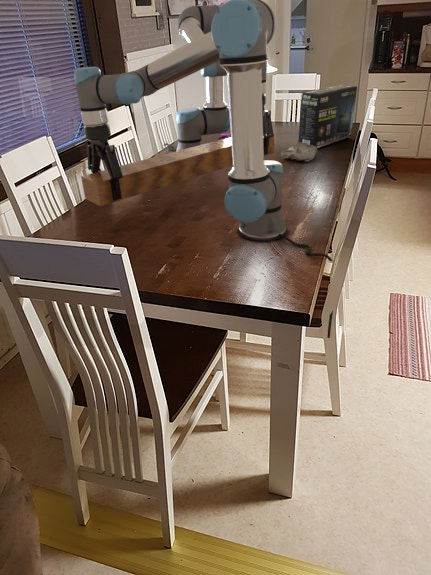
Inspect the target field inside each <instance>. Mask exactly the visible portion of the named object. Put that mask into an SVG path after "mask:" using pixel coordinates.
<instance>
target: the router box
mask: <svg viewBox="0 0 431 575" xmlns="http://www.w3.org/2000/svg"><path fill="white" fill-rule="evenodd" d="M357 93H358V86H356V85H350V84H339V85H338V84H337V85H334V86H328V87H324V88H318V89H314V90H309V91H304V92H301V93H300V109H299V110H300V111H299V124H298V137H297V143H298V142H303V143H307V144H308V145H314V146H315V147H317V146H320V145H323V144H325V143H328V142H331V141H333V140H336V139H338V138H341V137H344V136H347V135H351V136H352V133H353V132H352V131H353V125H354V115H355V109H356V99H357Z"/></svg>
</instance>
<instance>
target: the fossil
mask: <svg viewBox="0 0 431 575" xmlns="http://www.w3.org/2000/svg"><path fill="white" fill-rule="evenodd" d="M316 152H317V153H318V149H317V147H315V146H314V145H308V144H307V143H303V142H298V141H297V143H296V145H291V146H289V148H288V149H284V150H282V151H281V152H280V156H281V158H282V159H284V160H289V159H291V158H292V159H291V160H293V159H297V160H296V161H303V160H309V161H303V162H304V163H309V162H310V161H312V160H314V158H315V156H316V155H317V153H316ZM282 156H288V157H290V158H283V157H282Z"/></svg>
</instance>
